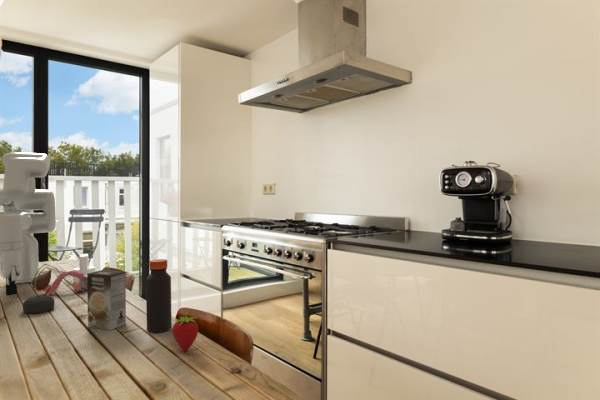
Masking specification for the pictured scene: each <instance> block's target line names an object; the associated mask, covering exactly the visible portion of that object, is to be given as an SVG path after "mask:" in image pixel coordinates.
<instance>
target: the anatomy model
mask: <svg viewBox="0 0 600 400" xmlns="http://www.w3.org/2000/svg"><path fill="white" fill-rule="evenodd" d="M45 266H46V267H45ZM47 266H48V267H47ZM43 267H44V268H43ZM49 267H51V268H49ZM42 268H43V269H42ZM41 269H42V270H41ZM45 269H47V270H48V271H47V272H44V273H43V271H45ZM40 270H41V271H40ZM38 271H40V272H39V275H38V276H37V277H36V274H37V273H38ZM38 271H37V273H36V274H35V277H34V279H33V280H32V281H31V282H30V285H31V287H32V288H33V290H34V291H36V292H41V291H42V292H44V293H46V297H50V295H51V294H54V293H55V292H56V291H58V289H59V287H60V285H61V283H62V281H63V280H64V283H62V285H65V283H66V286H71V287H72V288H73V289H74V290H76V291H78V292H81V291H83V289H84V288H82V286H81V285H80V284H79V283H76V282H74V283H73V279H72V280H71V279H70V280H67V279H66V278H65V277H69V276H72V277H73V276H74V277H77V278H78V279H80V280H81V281H84V280H85V276H84V274H83V273H82V272H81V273H79V272H76V271H73V269H72V270H71V269H70V270H69V269H68V270H65V271H62V272H60V270H59V269H58V268H57V267H55V266H52V265H50V264H47V263H44V264H42V265H41V266H40V267H39V270H38ZM52 271H57V272H58V275H57V277H56V278H55V280H54V281H53V282H52V284H50V282H51V278H52Z"/></svg>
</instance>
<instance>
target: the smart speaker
mask: <svg viewBox="0 0 600 400" xmlns="http://www.w3.org/2000/svg"><path fill="white" fill-rule="evenodd" d="M54 308H55V298H54V297H53V296H38V297H31V298H29V299H26V300H24V301H23V303H22V311H23V313H25V314H29V315H32V314H33V315H35V314H36V315H37V314H41V313H42V314H43V313H46V312H49V311H51V310H53V309H54Z"/></svg>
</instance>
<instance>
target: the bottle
mask: <svg viewBox="0 0 600 400" xmlns="http://www.w3.org/2000/svg"><path fill="white" fill-rule="evenodd" d="M148 264H149V266H148V267H149V271H150V274H149V275H148V276H147V277H146V279H145V289H146V291H145V292H146V295H145V296H146V299H145V300H146V301H145V302H146V304H145V305H146V331H147V332H149V333H151V334H158V333H165V332H168V331H169V330H171V329H172V328H173V325H172V322H173V321H172V278H171V277H172V276H171V275H170V274H169V273H168V272H167V270H168V259H167V258H166V259H165V258H162V259H161V258H157V259H151V260H149V263H148Z"/></svg>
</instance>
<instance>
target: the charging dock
mask: <svg viewBox="0 0 600 400" xmlns="http://www.w3.org/2000/svg"><path fill="white" fill-rule="evenodd" d="M84 276H85V280H84V281H81V280H80V279H79V284H80V285H81V286H82V288H83V289H84V290H86V291H87V275H85V274H84Z"/></svg>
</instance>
